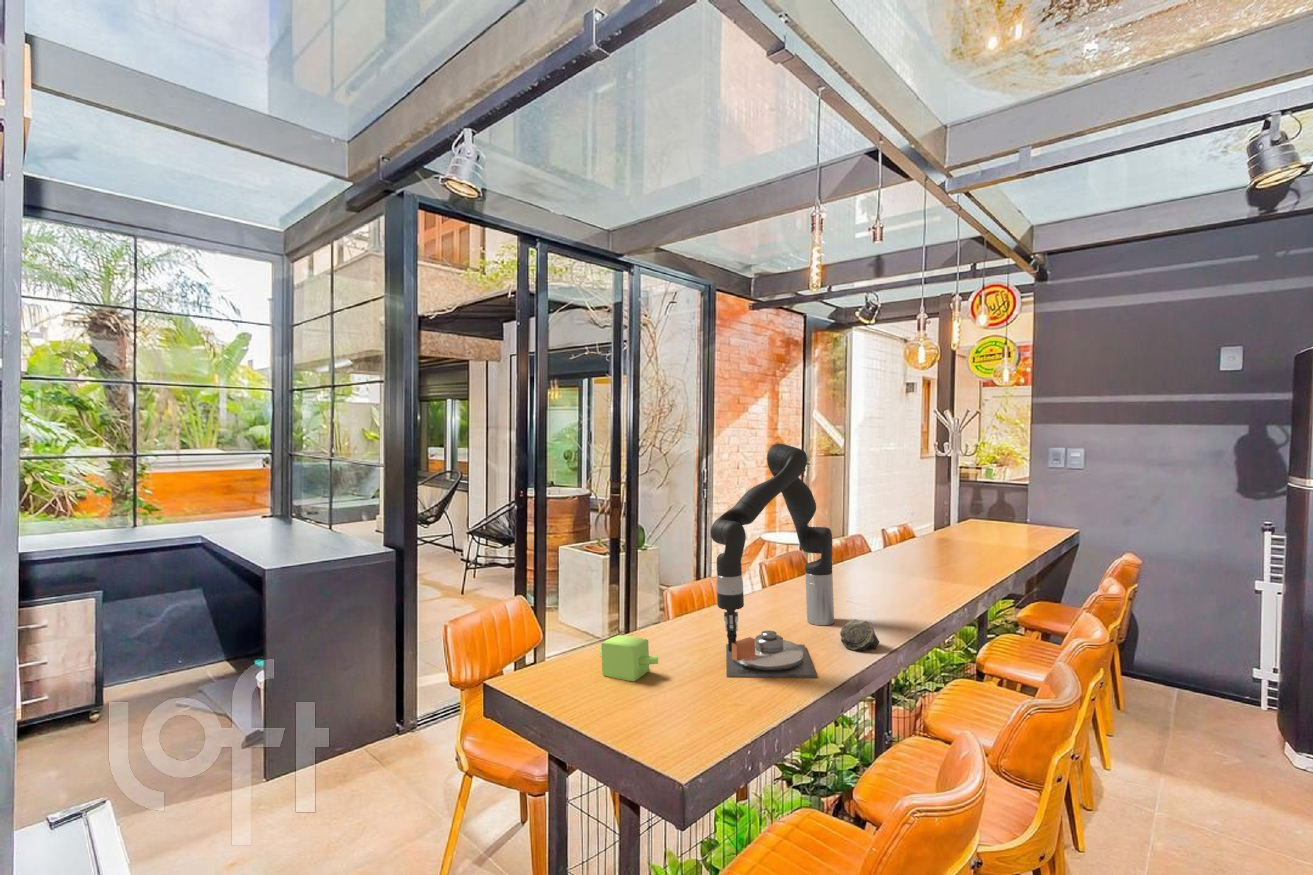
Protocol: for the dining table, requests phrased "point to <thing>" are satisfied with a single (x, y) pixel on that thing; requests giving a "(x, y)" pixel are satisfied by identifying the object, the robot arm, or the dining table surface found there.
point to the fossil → (858, 635)
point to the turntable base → (798, 671)
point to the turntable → (766, 655)
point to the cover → (769, 642)
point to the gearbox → (626, 657)
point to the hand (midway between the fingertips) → (732, 650)
